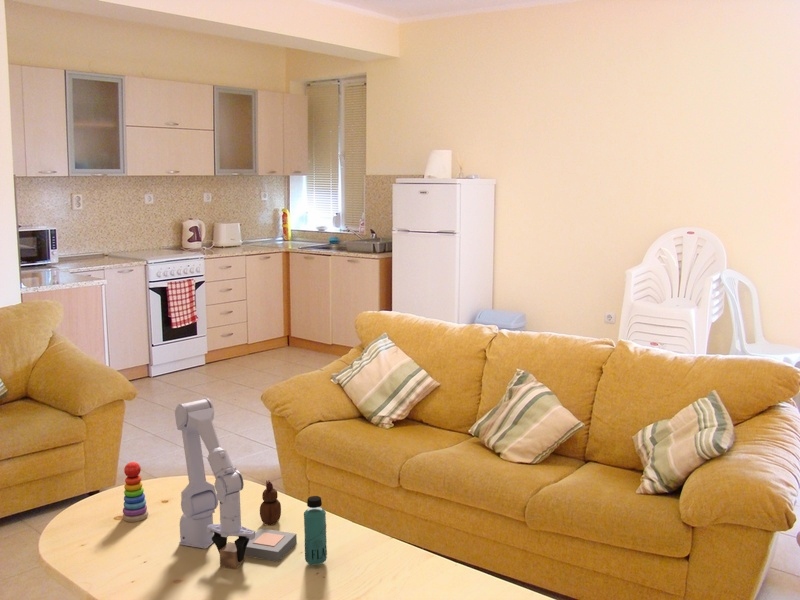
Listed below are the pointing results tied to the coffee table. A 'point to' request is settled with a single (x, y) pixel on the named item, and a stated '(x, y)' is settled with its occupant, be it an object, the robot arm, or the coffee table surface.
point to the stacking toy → (134, 494)
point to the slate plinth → (270, 544)
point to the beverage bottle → (315, 532)
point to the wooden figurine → (270, 506)
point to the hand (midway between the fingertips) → (232, 558)
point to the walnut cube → (229, 556)
